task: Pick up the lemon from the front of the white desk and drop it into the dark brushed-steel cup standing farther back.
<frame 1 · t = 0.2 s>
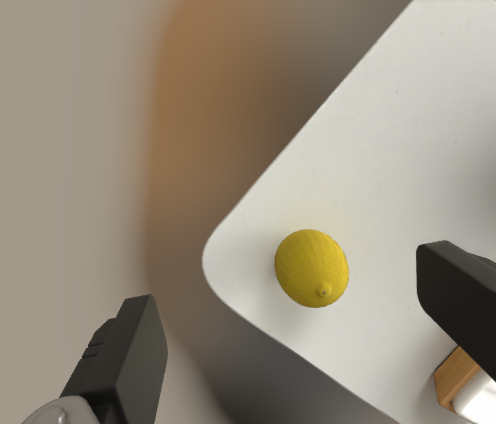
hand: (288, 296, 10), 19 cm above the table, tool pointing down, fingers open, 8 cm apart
soap dish: (488, 350, 36), on the table
lemon: (298, 245, 31), on the table
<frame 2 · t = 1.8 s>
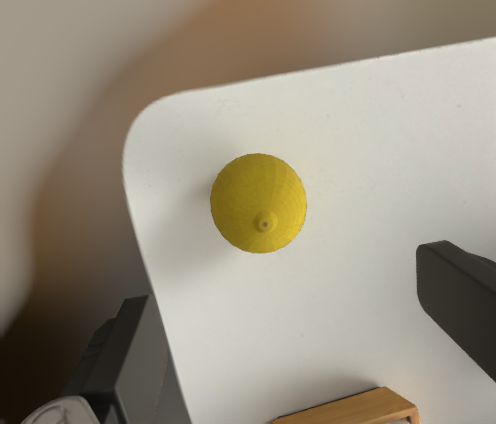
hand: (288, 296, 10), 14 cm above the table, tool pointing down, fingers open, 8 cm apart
lemon: (251, 185, 24), on the table
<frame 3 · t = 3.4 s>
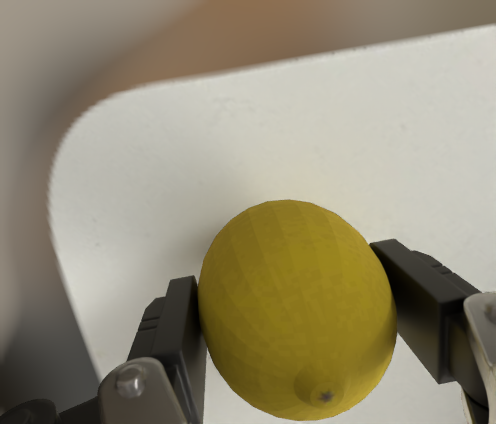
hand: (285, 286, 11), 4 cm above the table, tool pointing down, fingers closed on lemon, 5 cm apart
lemon: (269, 241, 15), on the table, touching gripper
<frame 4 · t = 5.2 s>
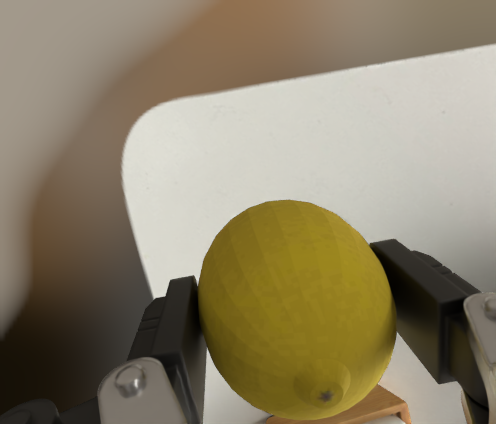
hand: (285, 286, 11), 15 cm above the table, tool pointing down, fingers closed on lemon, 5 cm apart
lemon: (269, 241, 15), point 11 cm above the table, touching gripper
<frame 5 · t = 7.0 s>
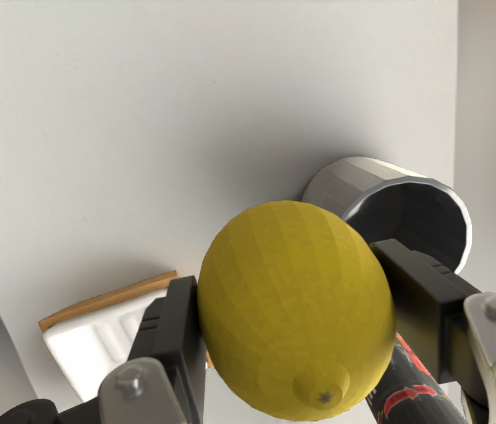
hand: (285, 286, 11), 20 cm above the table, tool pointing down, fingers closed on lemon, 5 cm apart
soap dish: (141, 318, 34), on the table
deodorant: (368, 341, 37), on the table
steel cup: (352, 209, 32), on the table
lemon: (269, 242, 15), point 16 cm above the table, touching gripper
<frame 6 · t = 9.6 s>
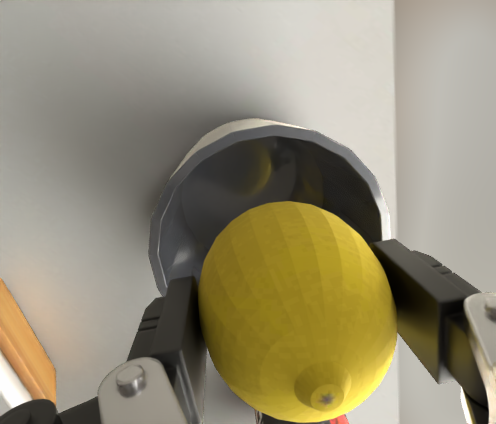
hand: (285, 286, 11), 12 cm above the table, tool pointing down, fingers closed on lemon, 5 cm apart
deodorant: (289, 376, 27), on the table
steel cup: (252, 196, 23), on the table
lemon: (270, 243, 15), point 8 cm above the table, touching gripper
when the fingers open (10 cm above the table, at t = 10.8 s): lemon drops 6 cm, resting on steel cup.
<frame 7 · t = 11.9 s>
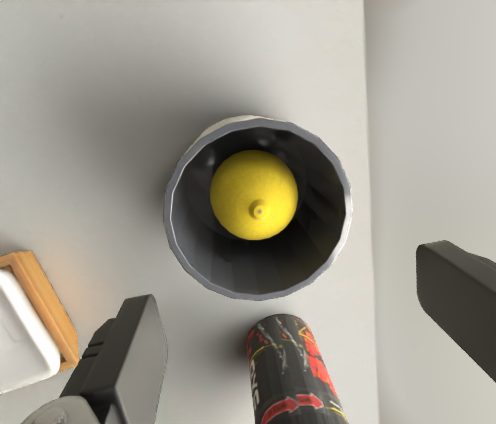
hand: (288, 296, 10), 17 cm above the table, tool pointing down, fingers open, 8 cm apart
deodorant: (279, 341, 31), on the table
steel cup: (246, 181, 27), on the table, touching lemon
lemon: (248, 180, 26), resting on steel cup
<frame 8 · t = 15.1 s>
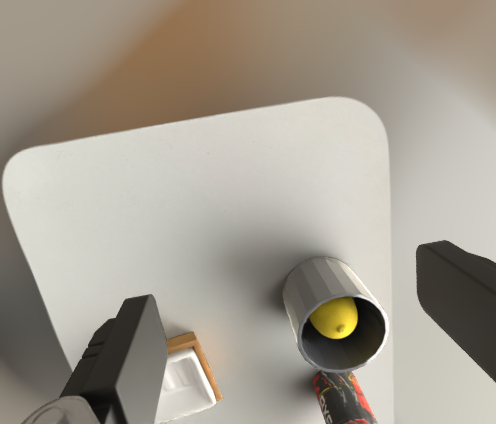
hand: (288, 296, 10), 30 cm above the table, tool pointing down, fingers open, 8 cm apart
soap dish: (167, 363, 47), on the table
deodorant: (333, 380, 50), on the table
steel cup: (319, 291, 45), on the table, touching lemon
lemon: (321, 291, 45), resting on steel cup
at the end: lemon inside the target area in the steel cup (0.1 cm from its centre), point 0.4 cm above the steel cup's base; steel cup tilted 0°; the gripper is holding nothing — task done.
